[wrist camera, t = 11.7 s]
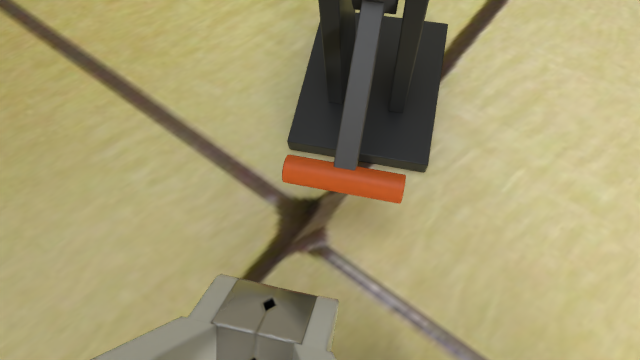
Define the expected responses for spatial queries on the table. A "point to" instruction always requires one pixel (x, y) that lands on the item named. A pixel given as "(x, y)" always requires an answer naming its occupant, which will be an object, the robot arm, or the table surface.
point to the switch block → (373, 86)
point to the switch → (353, 123)
